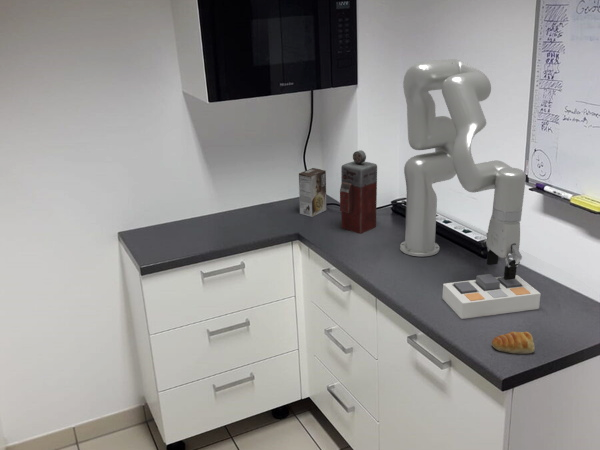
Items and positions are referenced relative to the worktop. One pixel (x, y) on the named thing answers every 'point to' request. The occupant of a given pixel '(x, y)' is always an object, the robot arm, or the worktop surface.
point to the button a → (465, 287)
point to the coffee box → (312, 192)
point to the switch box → (491, 299)
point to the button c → (509, 283)
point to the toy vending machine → (358, 194)
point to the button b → (487, 282)
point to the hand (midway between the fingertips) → (500, 271)
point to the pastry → (514, 343)
